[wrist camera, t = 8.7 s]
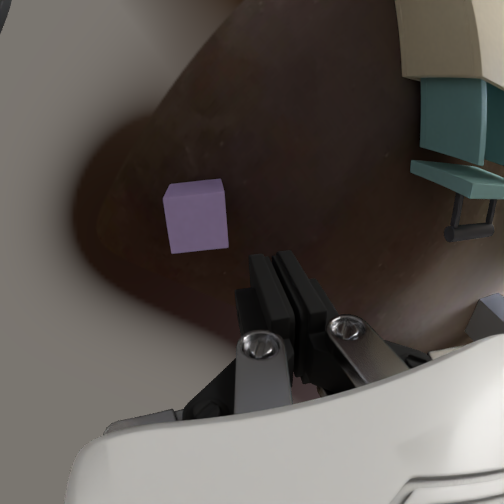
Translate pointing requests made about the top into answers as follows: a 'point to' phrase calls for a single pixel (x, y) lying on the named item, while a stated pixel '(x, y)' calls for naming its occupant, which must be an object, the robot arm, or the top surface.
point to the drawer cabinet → (452, 39)
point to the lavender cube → (196, 216)
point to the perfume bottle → (487, 318)
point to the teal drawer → (463, 145)
